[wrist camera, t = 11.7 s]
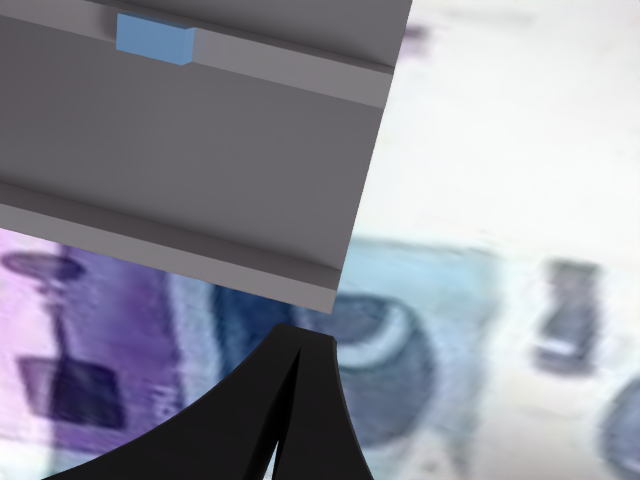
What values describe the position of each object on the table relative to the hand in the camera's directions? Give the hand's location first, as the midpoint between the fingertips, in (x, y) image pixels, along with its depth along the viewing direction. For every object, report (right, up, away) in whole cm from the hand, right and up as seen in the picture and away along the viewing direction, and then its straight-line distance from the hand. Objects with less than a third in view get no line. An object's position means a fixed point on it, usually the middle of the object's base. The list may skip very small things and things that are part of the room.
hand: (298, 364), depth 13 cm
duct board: (-4, +10, +6) cm, 12 cm away
